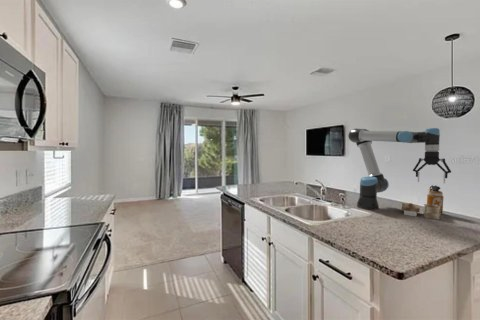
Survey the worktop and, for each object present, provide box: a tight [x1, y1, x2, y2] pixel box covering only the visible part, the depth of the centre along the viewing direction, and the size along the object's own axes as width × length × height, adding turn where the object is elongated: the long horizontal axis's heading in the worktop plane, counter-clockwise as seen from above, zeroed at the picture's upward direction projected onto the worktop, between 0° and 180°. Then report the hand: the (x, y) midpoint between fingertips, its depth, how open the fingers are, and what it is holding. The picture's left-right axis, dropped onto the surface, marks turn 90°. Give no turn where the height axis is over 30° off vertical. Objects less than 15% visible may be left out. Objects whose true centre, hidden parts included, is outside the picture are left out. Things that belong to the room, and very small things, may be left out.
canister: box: [426, 184, 444, 215], centre depth 172 cm, size 9×11×20 cm
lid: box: [401, 202, 421, 213], centre depth 169 cm, size 10×13×4 cm
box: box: [423, 203, 442, 220], centre depth 162 cm, size 8×11×7 cm
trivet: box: [403, 210, 418, 217], centre depth 169 cm, size 7×13×3 cm, turn 145°
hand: (430, 182), depth 162 cm, fingers open, 13 cm apart
